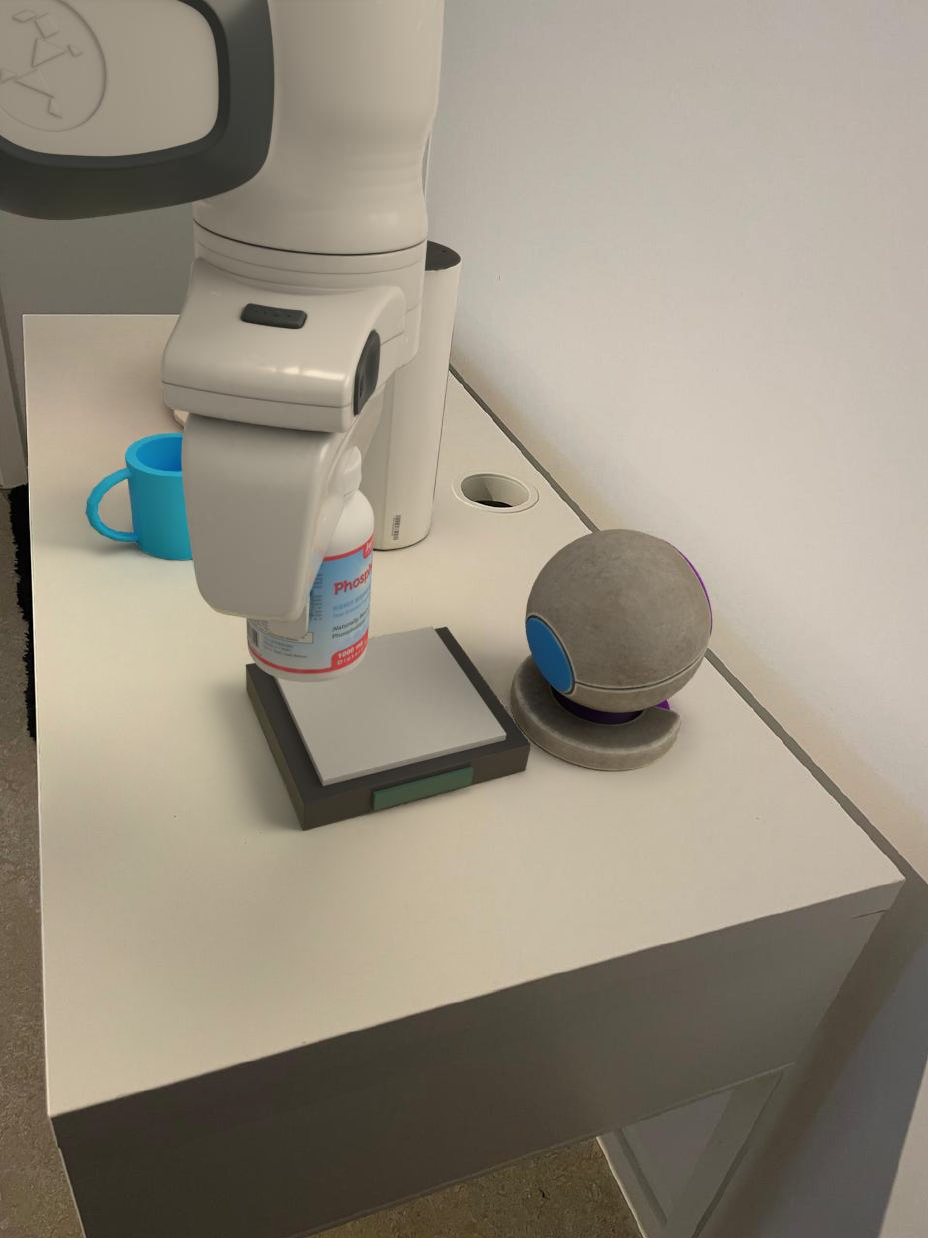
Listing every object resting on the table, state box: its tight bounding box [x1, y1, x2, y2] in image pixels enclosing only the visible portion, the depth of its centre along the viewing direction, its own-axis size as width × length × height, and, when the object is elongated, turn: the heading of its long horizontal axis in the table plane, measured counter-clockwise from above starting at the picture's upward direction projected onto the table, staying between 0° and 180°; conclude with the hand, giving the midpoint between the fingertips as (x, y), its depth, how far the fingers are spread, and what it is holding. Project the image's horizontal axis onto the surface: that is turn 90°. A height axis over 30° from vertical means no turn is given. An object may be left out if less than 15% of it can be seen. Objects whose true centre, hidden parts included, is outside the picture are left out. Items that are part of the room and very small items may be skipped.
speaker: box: [358, 239, 463, 551], centre depth 80 cm, size 11×10×26 cm
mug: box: [85, 432, 193, 561], centre depth 78 cm, size 12×8×8 cm
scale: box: [245, 626, 532, 831], centre depth 64 cm, size 16×14×3 cm
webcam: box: [509, 528, 713, 771], centre depth 65 cm, size 13×13×15 cm
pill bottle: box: [245, 446, 374, 682], centre depth 43 cm, size 6×6×11 cm
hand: (308, 584), depth 44 cm, fingers closed on pill bottle, 6 cm apart
